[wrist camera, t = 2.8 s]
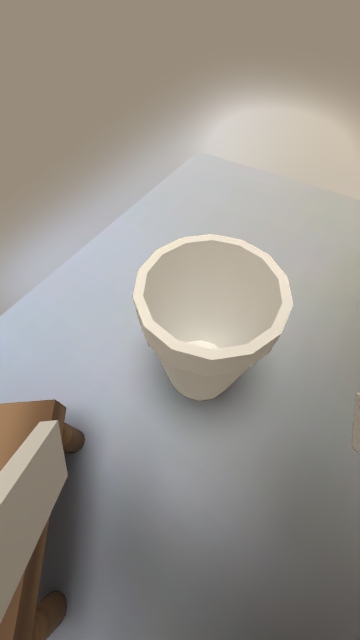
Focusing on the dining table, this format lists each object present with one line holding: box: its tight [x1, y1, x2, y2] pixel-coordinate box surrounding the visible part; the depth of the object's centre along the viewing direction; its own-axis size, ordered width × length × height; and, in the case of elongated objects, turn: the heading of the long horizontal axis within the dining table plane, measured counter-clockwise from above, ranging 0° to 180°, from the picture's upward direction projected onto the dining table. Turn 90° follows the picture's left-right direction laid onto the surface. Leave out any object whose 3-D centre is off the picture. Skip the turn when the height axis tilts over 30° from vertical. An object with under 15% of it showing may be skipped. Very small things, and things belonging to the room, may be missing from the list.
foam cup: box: [133, 234, 293, 401], centre depth 21 cm, size 10×9×13 cm
